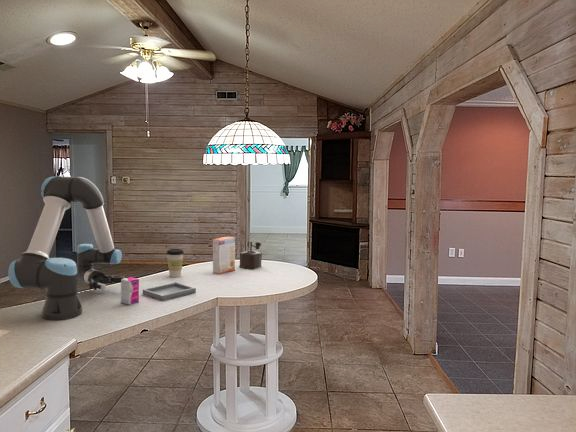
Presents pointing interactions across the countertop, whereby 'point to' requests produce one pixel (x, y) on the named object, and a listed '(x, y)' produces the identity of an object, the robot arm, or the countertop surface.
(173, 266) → the coffee cup
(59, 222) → the robot arm
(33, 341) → the countertop surface
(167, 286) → the tray
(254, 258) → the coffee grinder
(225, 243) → the cracker box
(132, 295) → the supplement box
